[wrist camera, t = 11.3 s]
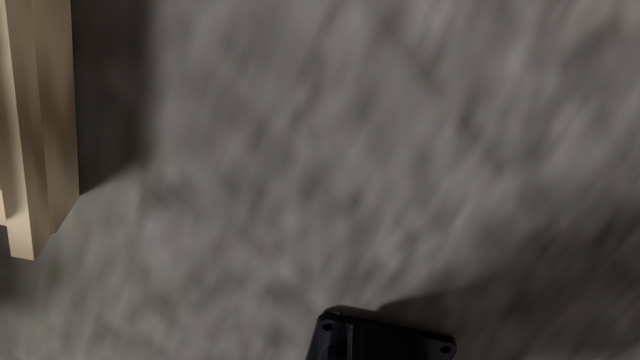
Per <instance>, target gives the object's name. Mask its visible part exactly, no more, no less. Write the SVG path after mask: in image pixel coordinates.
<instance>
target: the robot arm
mask: <svg viewBox="0 0 640 360" xmlns="http://www.w3.org/2000/svg"><path fill="white" fill-rule="evenodd" d="M456 350H457V347H456V341H455V339H454V338H453V337H450V336H447V335H442V334H436V333H431V332H426V331H421V330H415V329H410V328H405V327H400V326H395V325H389V324H384V323H379V322H374V321H369V320H363V319H358V318H353V317H348V316H343V315H337V314H332V313H324V314H321V315H320V316H319V317H318V319H317V322H316V326H315V329H314V332H313V336H312V339H311V342H310V346H309V349H308V352H307V356H306V359H305V360H452V359H453V357H454V355H455V353H456Z"/></svg>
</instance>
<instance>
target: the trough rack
mask: <svg viewBox="0 0 640 360" xmlns="http://www.w3.org/2000/svg"><path fill="white" fill-rule="evenodd" d="M78 198H79V175H78V153H77V132H76V110H75V88H74V67H73V45H72V23H71V1H70V0H0V225H4V226H7V231H8V238H9V245H10V252H11V256H12V257H17V258H23V259H28V260H33V261H34V260H35V258H36V257H37V255H38V254H39V252H40V251H41V249H42V248H43V246H44V245H45V243H46V242H47V240H48V239H49V237H50V236H51V235H54V234H55V233H56V231H57V230H58V228H59V227H60V225H61V224H62V222H63V221H64V219H65V218H66V216H67V215H68V213H69V212H70V210H71V209H72V207H73V206H74V204H75V203H76V201H77V200H78Z"/></svg>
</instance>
